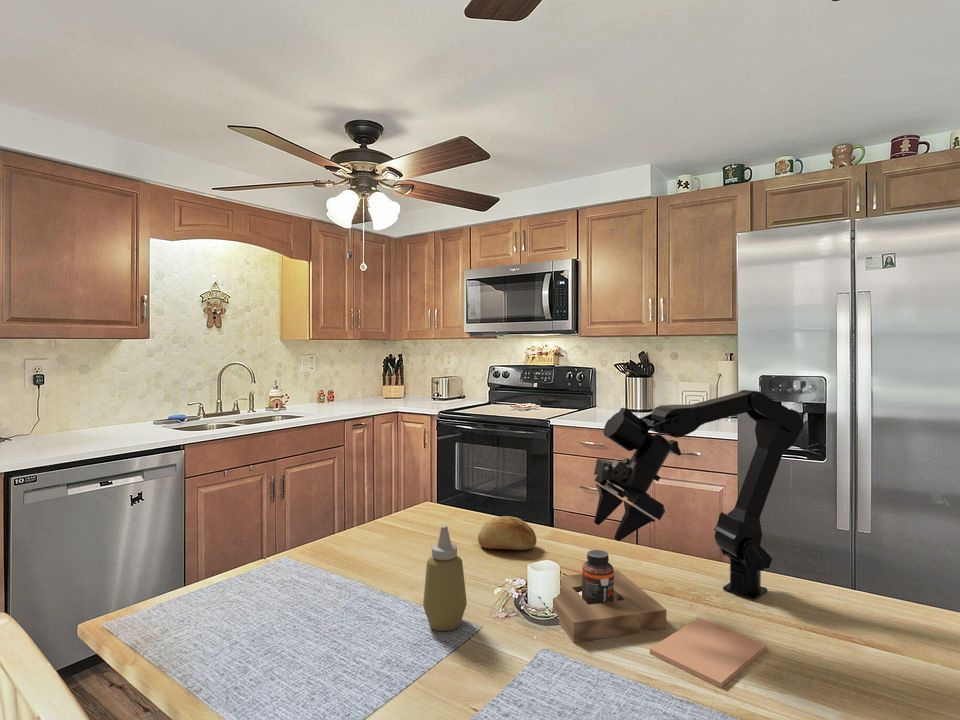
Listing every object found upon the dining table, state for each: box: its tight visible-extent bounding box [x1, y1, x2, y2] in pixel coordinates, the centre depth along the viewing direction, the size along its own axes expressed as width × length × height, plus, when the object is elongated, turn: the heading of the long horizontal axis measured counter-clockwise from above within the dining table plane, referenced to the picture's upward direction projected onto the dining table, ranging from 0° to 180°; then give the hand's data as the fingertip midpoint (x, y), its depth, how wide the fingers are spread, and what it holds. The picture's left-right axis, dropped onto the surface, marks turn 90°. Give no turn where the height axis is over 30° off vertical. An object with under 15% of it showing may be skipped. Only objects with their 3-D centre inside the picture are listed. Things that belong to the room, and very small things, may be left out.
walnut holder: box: [553, 569, 667, 644], centre depth 104 cm, size 18×18×4 cm
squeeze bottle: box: [422, 525, 468, 632], centre depth 99 cm, size 8×8×18 cm
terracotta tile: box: [649, 616, 768, 689], centre depth 90 cm, size 16×12×1 cm
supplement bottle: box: [581, 549, 615, 605], centre depth 104 cm, size 6×6×11 cm
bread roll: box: [477, 515, 537, 551], centre depth 137 cm, size 10×15×8 cm, turn 82°
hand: (605, 531), depth 105 cm, fingers open, 9 cm apart
